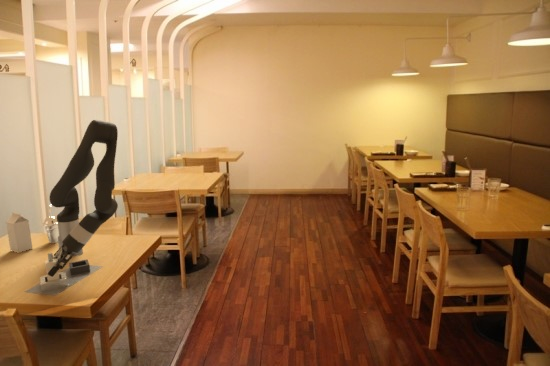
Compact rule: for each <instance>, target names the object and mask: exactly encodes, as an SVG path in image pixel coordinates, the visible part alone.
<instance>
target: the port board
mask: <svg viewBox="0 0 550 366" xmlns="http://www.w3.org/2000/svg"><path fill="white" fill-rule="evenodd" d="M89 266H90V272H85V273H81V274H76V275H71V272H70V267H67V268H65V269H64V270H61V272H65V273H66V277H67V284H68V287H64V288H59V289H55V290H50V291H45V292H41V285H40V283H38V284H36V285H34V286H31V288H28V289H27V290H25V291H24V293H27V294H28V293H29V294H39V295H46V296H47V295H48V296H57V295H58V294H60V293H62V292H63V291H65V290H66V289H69V288H70V287H72V286H73V285H75V284H76V283H79V282H80V281H82V280H83V279H85V278H87V277H88V276H89V275H92V274H93V273H95V272H97V271H99V269H102V268H103V267H104V266H102V265H93V264H92V265H91V264H89Z"/></svg>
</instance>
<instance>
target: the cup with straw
mask: <svg viewBox="0 0 550 366" xmlns="http://www.w3.org/2000/svg"><path fill="white" fill-rule="evenodd" d="M52 206H53V205H52V204H51V203H50V204H49V206H48V211H49V216H47V217H46V218H45V219H44V220H43V223H42V227H44V229H45V232H46V235H47V239H48V241H49V242H48V243H49V244H56V243H58V236H59V231H58V223H57V216H54V215H52Z"/></svg>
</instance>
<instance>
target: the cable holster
mask: <svg viewBox="0 0 550 366" xmlns="http://www.w3.org/2000/svg"><path fill="white" fill-rule="evenodd" d="M89 265H90V262H89V261H88V259H82V260H77V261H72V262H68V266H69V267H70V272H71V275H76V274H81V273H85V272H90V266H89ZM69 267H68V268H69Z"/></svg>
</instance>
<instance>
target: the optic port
mask: <svg viewBox="0 0 550 366" xmlns="http://www.w3.org/2000/svg"><path fill="white" fill-rule="evenodd" d="M39 281H40V282H39V284H40V285H41V292H45V291H50V290H55V289H59V288H64V287H68V284H67V277H66V273H65V272H62V271H60V272H59V280H54V281H49V282H48V279H47V274H46V275H42V276H40V275H39ZM68 288H69V287H68Z"/></svg>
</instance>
